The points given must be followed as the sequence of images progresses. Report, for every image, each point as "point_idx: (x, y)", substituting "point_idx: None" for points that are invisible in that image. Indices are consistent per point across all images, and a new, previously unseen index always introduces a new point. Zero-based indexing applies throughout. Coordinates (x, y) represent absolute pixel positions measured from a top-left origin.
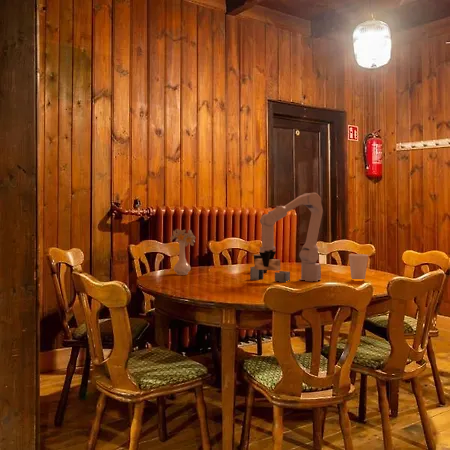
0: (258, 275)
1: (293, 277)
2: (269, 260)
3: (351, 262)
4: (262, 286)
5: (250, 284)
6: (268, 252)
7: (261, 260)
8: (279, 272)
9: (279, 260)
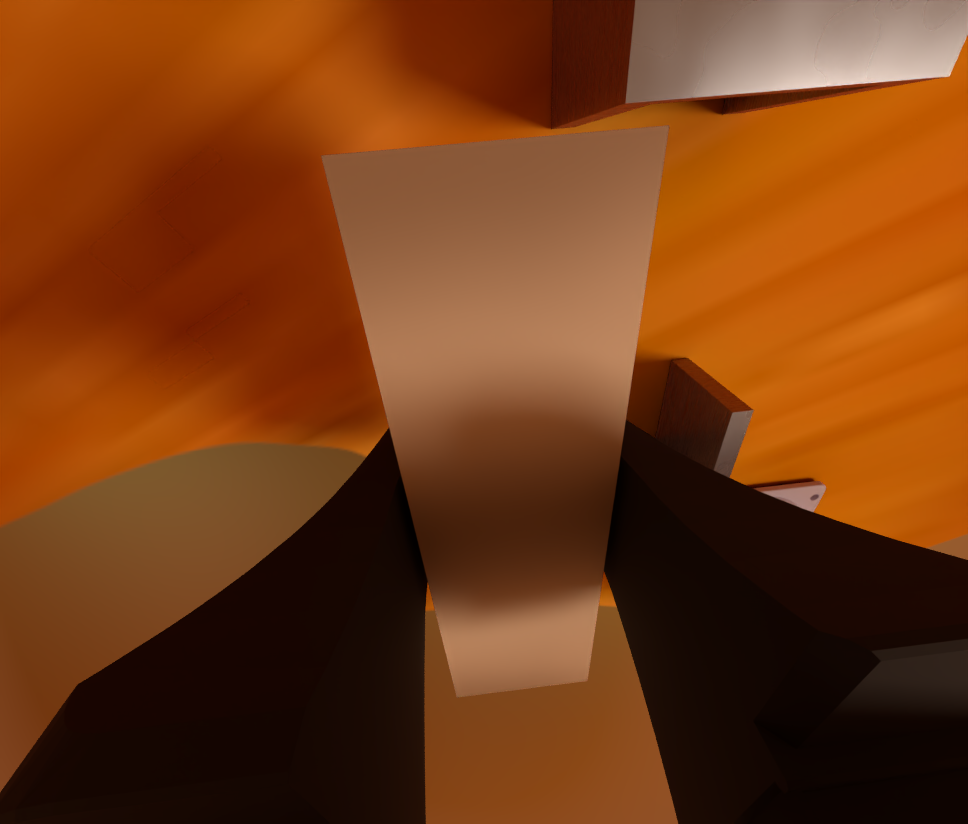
0: (596, 120)
1: (914, 378)
2: (436, 594)
3: None
4: (198, 422)
5: (175, 244)
6: (734, 740)
7: (396, 425)
8: (721, 404)
9: (549, 672)
